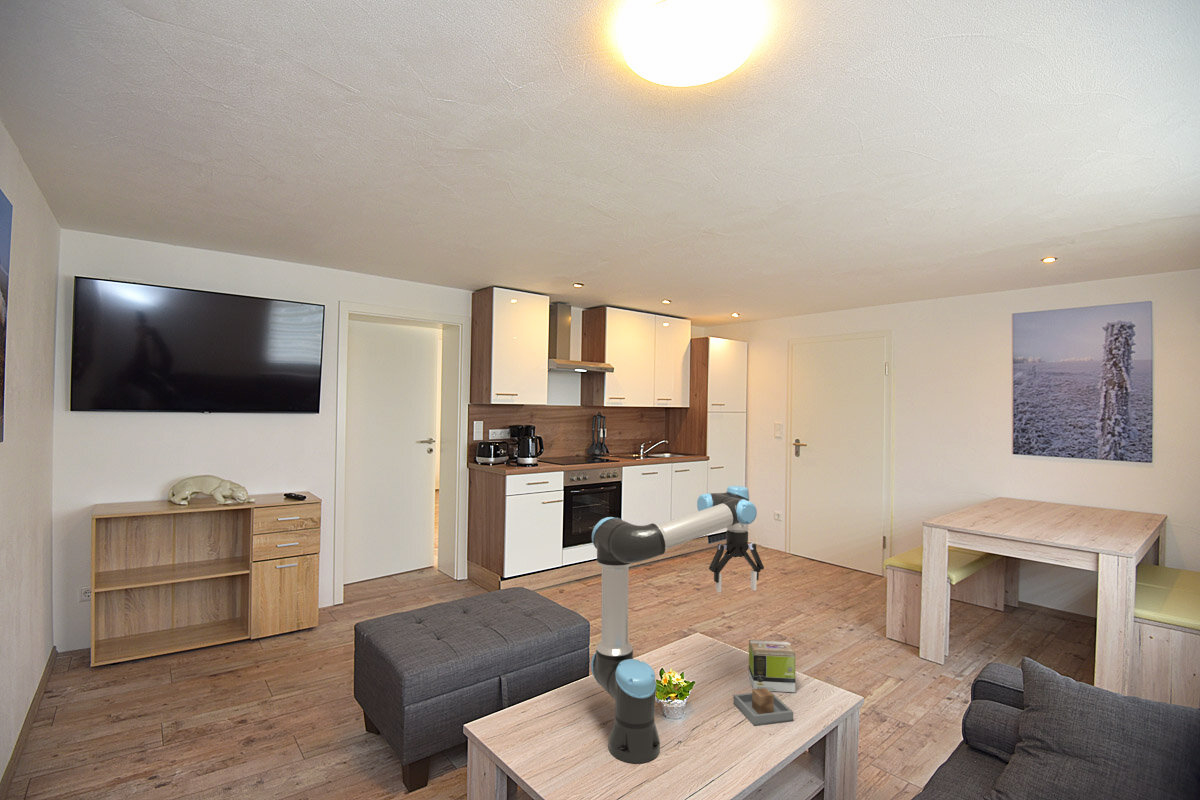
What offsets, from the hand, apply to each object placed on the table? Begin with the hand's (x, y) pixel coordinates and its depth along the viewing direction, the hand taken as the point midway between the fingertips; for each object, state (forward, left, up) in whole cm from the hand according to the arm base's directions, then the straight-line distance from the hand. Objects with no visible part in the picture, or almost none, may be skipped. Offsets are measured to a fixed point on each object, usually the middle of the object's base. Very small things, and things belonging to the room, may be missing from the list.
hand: (736, 590), depth 198 cm
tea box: (+17, +4, -37) cm, 41 cm away
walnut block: (+4, -12, -36) cm, 38 cm away
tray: (+4, -12, -37) cm, 39 cm away
